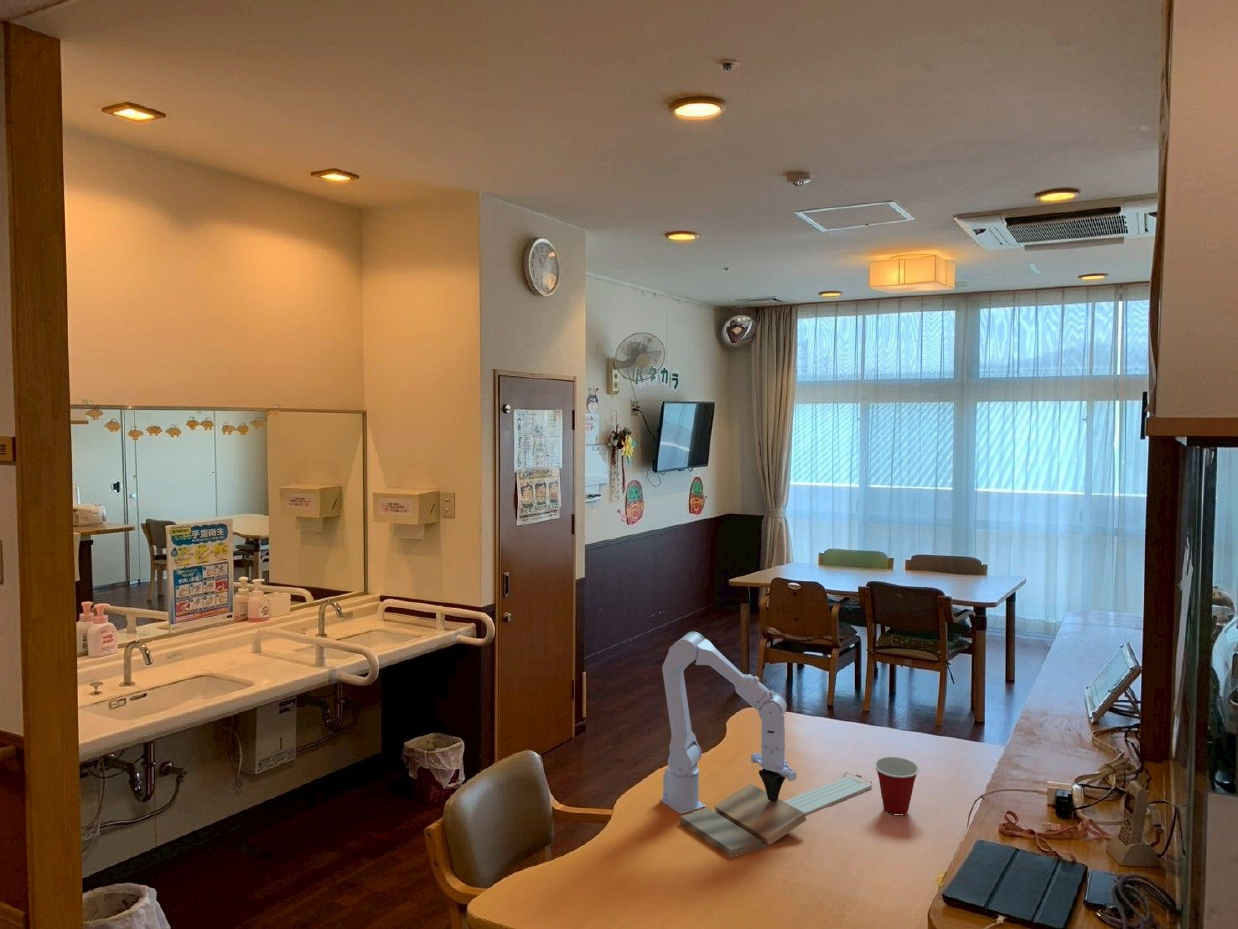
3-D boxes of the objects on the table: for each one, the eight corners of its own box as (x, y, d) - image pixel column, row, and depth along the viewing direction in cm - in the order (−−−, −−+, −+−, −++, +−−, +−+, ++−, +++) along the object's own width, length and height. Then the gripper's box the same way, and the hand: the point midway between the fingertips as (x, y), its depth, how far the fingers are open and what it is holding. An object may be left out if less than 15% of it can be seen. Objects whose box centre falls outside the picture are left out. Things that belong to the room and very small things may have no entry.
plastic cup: (870, 816, 225) (871, 769, 224) (875, 799, 235) (876, 754, 234) (916, 824, 221) (917, 776, 220) (919, 806, 231) (920, 760, 230)
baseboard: (767, 808, 231) (797, 822, 223) (767, 797, 231) (797, 810, 223) (841, 778, 250) (872, 790, 242) (842, 768, 250) (872, 780, 242)
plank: (716, 813, 226) (714, 806, 226) (751, 790, 232) (750, 783, 231) (768, 846, 209) (767, 838, 209) (806, 820, 215) (804, 813, 214)
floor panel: (680, 824, 220) (680, 816, 220) (714, 814, 226) (714, 806, 226) (731, 858, 203) (731, 850, 203) (766, 847, 209) (766, 839, 209)
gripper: (805, 751, 217) (805, 806, 218) (766, 733, 230) (765, 785, 230) (783, 757, 214) (783, 813, 214) (744, 738, 226) (744, 791, 227)
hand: (772, 799), depth 222 cm, fingers closed, pressing on plank
